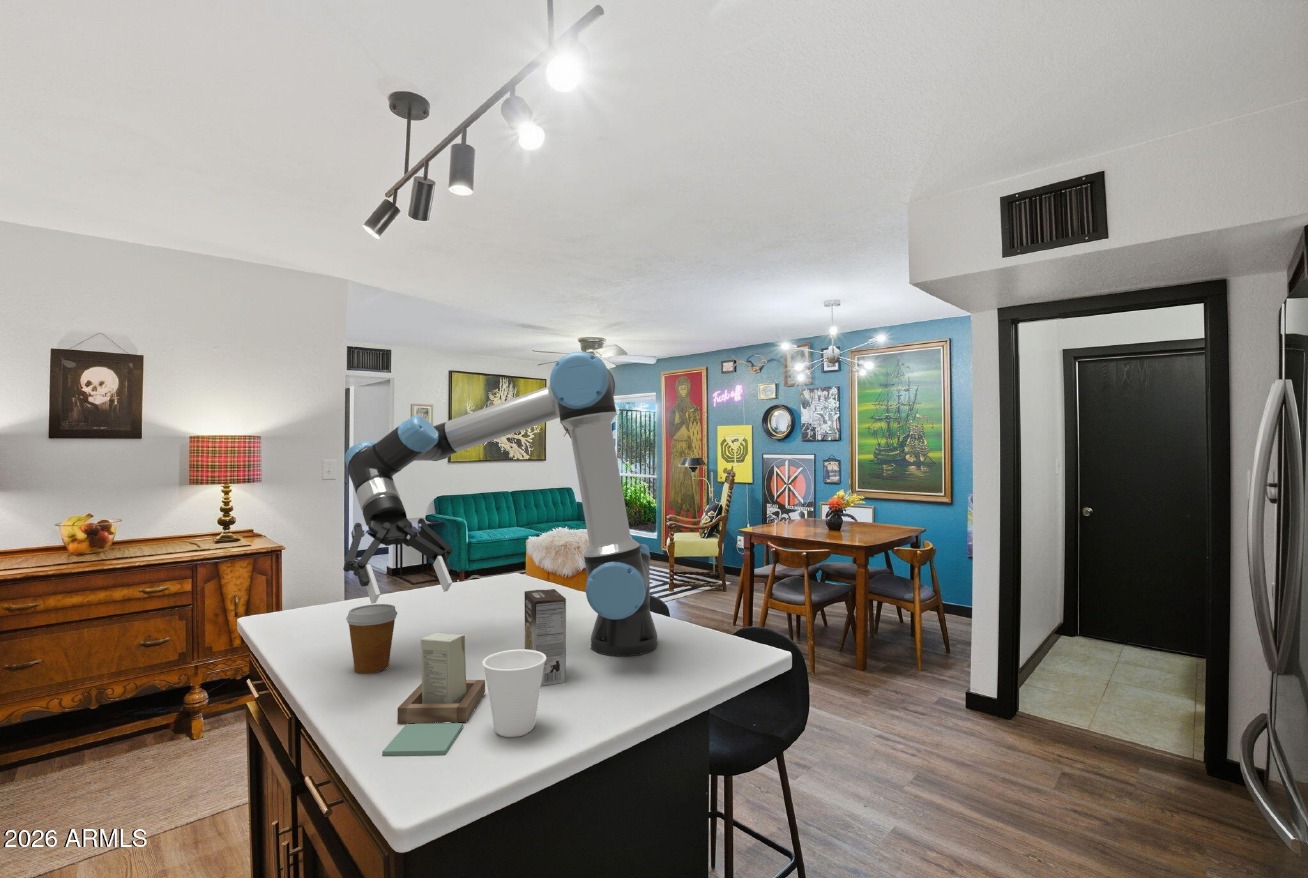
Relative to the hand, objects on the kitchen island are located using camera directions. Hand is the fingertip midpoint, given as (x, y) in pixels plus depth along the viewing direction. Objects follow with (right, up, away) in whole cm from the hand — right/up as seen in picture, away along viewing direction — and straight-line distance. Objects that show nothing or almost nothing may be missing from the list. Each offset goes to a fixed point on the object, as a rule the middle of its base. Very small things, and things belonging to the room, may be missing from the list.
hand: (413, 593), depth 112 cm
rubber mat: (+10, -17, -20) cm, 28 cm away
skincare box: (+8, -18, -8) cm, 21 cm away
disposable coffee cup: (-13, -18, +12) cm, 26 cm away
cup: (+22, -18, -16) cm, 33 cm away
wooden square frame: (+8, -18, -8) cm, 21 cm away
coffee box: (+23, -18, +6) cm, 30 cm away
